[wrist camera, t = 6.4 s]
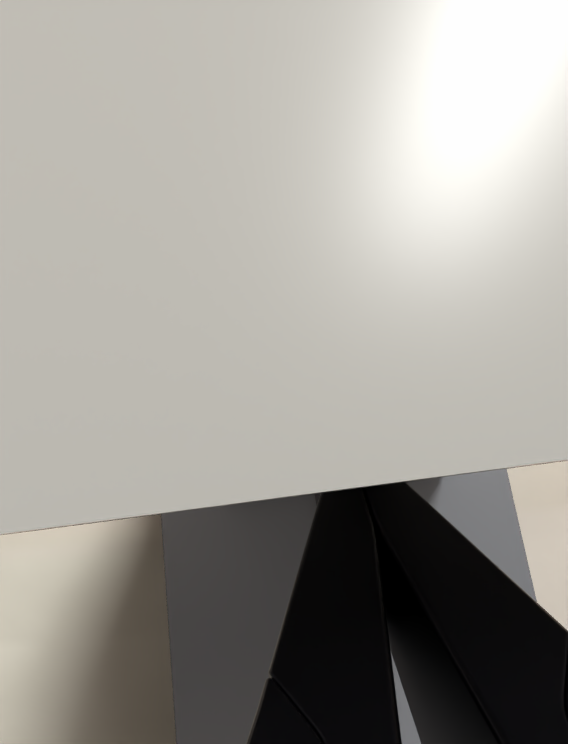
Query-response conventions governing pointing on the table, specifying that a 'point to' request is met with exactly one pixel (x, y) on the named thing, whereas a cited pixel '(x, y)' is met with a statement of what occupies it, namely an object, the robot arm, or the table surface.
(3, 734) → the table surface
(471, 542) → the robot arm
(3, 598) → the table surface
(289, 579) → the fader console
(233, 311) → the fader knob
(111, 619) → the table surface
